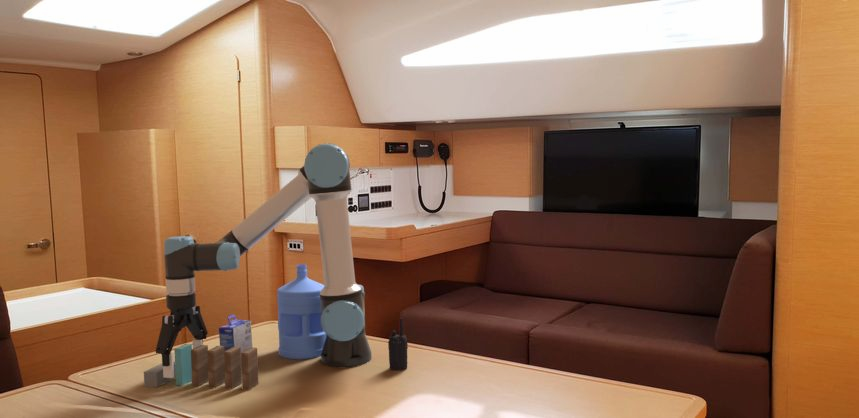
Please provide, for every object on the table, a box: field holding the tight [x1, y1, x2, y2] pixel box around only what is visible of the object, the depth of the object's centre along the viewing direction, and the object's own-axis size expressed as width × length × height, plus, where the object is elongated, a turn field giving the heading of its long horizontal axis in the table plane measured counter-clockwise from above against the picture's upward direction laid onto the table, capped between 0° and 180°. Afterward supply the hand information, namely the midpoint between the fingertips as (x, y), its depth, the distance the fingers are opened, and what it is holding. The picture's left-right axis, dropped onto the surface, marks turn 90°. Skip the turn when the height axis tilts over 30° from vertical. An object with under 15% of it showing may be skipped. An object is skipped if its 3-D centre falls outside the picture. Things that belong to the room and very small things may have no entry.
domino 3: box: [224, 347, 242, 390], centre depth 178 cm, size 2×5×10 cm, turn 166°
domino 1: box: [191, 344, 209, 388], centre depth 180 cm, size 2×5×10 cm, turn 166°
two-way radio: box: [388, 317, 408, 371], centre depth 188 cm, size 6×4×15 cm
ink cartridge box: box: [218, 314, 253, 352], centre depth 198 cm, size 10×6×14 cm, turn 164°
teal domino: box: [173, 343, 193, 387], centre depth 181 cm, size 2×5×10 cm, turn 166°
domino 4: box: [241, 347, 259, 391], centre depth 176 cm, size 2×5×10 cm, turn 166°
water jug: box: [276, 264, 326, 360], centre depth 207 cm, size 16×16×28 cm
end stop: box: [143, 360, 176, 388], centre depth 183 cm, size 4×10×4 cm, turn 166°
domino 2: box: [207, 345, 225, 389], centre depth 179 cm, size 2×5×10 cm, turn 166°
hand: (184, 369), depth 181 cm, fingers open, 13 cm apart
